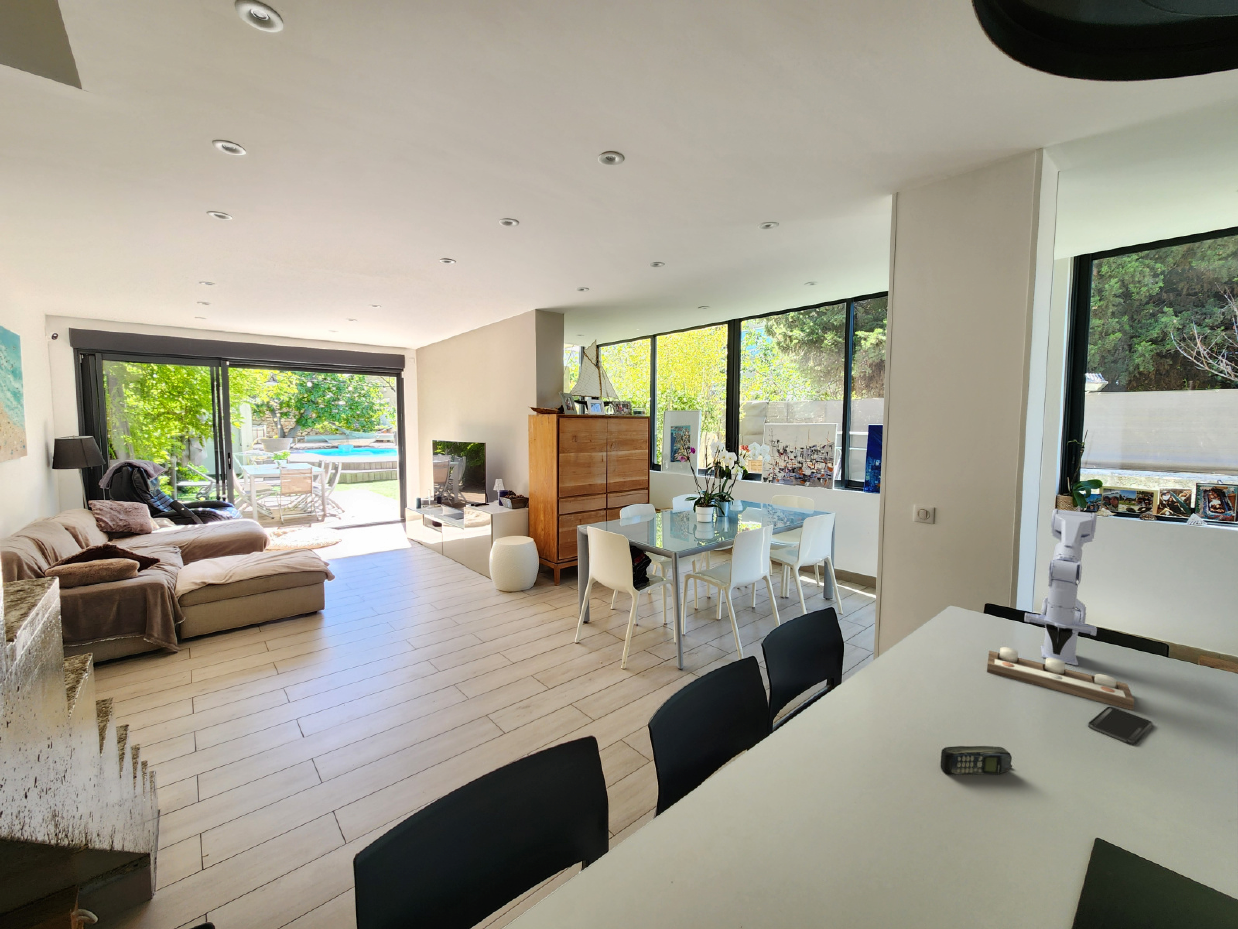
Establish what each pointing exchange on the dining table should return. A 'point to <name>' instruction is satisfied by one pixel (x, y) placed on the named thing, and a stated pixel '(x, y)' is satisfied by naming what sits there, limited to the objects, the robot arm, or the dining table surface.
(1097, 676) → the end button
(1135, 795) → the dining table surface
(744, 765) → the dining table surface
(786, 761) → the dining table surface
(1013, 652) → the end button
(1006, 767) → the mobile phone
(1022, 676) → the button board
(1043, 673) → the pattern card
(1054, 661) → the middle button
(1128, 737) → the phone
